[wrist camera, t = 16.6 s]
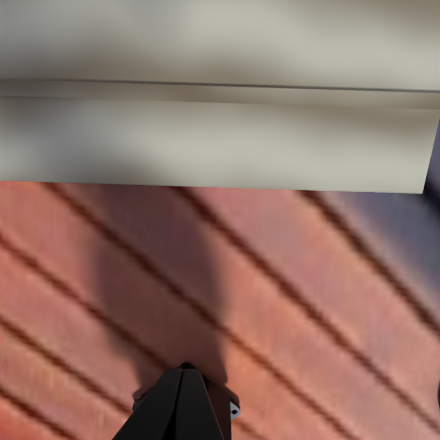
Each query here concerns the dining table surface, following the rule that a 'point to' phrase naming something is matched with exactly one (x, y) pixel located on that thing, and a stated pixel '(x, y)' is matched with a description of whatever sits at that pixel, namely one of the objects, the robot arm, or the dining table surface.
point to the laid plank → (220, 93)
